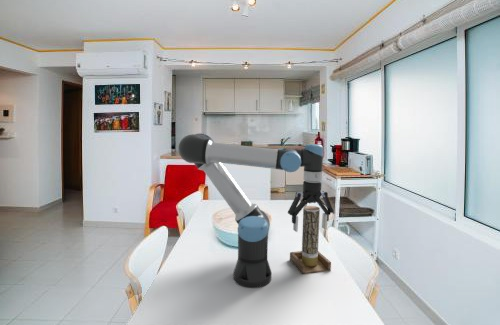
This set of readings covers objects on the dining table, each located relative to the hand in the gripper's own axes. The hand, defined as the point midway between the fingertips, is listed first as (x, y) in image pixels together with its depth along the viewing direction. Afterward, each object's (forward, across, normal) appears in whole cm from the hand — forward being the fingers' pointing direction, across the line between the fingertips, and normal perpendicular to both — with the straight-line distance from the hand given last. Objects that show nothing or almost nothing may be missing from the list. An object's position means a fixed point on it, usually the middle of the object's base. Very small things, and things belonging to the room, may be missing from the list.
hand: (309, 229), depth 122 cm
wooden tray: (+16, 0, 0) cm, 16 cm away
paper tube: (+16, 0, 0) cm, 16 cm away
